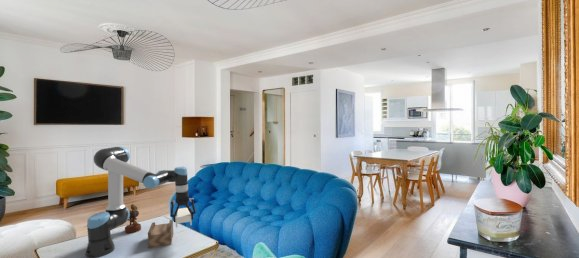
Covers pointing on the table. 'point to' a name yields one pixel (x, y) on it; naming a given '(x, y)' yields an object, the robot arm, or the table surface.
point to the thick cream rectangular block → (183, 215)
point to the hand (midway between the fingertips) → (183, 225)
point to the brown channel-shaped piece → (160, 234)
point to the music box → (133, 221)
